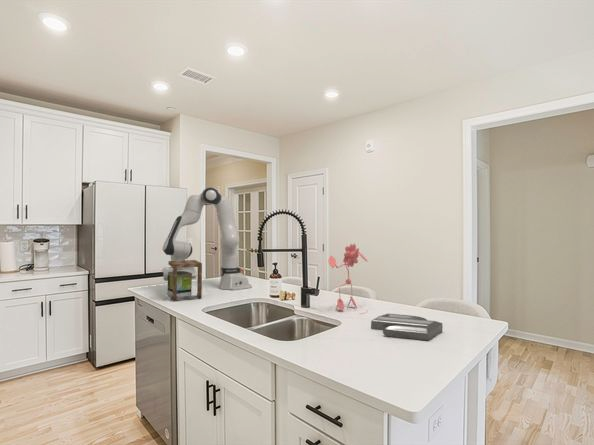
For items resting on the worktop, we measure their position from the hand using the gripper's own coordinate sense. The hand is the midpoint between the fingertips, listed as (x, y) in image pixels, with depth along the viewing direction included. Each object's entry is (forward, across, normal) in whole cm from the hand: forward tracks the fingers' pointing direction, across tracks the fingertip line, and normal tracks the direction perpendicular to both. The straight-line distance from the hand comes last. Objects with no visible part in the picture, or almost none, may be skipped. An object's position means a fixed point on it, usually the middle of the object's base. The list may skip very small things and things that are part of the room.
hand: (181, 284), depth 210 cm
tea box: (+10, -2, -2) cm, 11 cm away
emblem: (+88, +72, -79) cm, 138 cm away
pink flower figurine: (+62, +71, -54) cm, 109 cm away
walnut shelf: (+11, 0, -3) cm, 12 cm away
